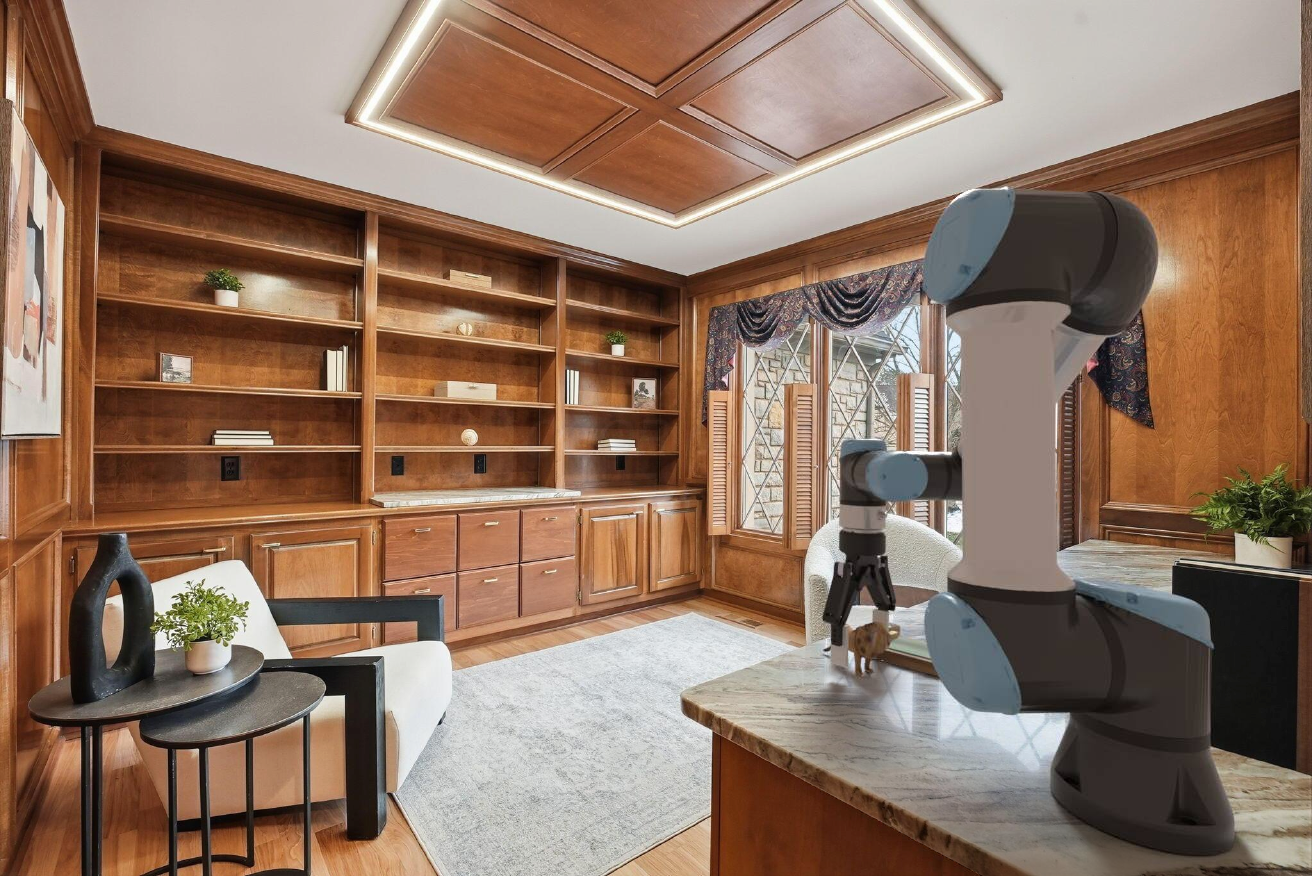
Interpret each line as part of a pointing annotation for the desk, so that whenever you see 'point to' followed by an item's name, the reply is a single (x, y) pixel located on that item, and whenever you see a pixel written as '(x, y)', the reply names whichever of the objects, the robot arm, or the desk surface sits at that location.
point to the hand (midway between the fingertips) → (860, 656)
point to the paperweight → (894, 628)
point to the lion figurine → (867, 644)
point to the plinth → (908, 654)
